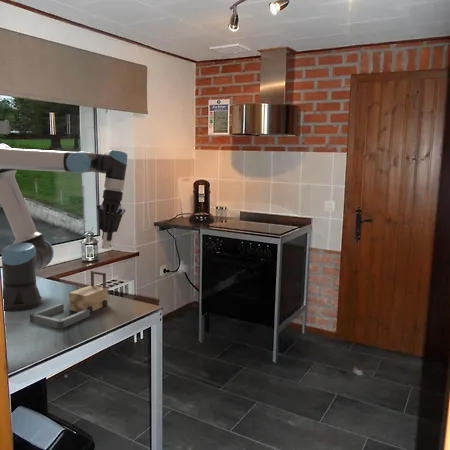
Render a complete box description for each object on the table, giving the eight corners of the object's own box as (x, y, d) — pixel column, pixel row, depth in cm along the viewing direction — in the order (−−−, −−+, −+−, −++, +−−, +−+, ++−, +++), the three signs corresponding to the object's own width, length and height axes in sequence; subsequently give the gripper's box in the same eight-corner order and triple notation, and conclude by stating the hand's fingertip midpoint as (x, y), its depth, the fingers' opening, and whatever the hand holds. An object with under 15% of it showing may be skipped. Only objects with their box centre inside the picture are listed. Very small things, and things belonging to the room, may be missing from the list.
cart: (68, 310, 173) (67, 276, 171) (90, 301, 184) (90, 270, 182) (87, 314, 169) (86, 280, 167) (108, 305, 180) (108, 273, 178)
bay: (30, 321, 159) (29, 314, 159) (60, 309, 172) (60, 303, 172) (60, 329, 154) (60, 322, 153) (89, 316, 167) (89, 309, 166)
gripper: (132, 192, 182) (124, 251, 183) (107, 189, 188) (99, 245, 189) (119, 191, 175) (111, 251, 176) (94, 187, 181) (86, 245, 182)
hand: (105, 248), depth 182 cm, fingers closed
